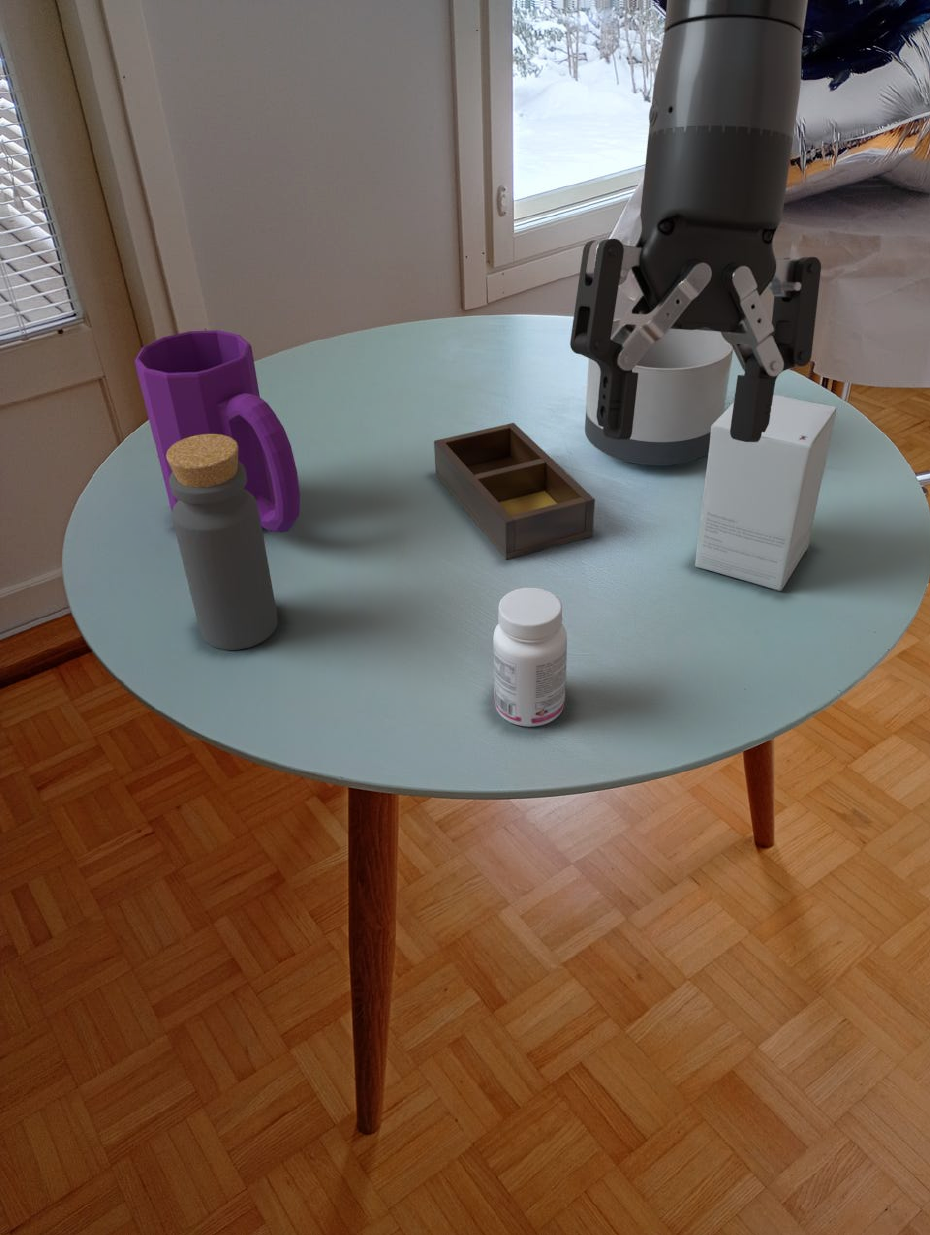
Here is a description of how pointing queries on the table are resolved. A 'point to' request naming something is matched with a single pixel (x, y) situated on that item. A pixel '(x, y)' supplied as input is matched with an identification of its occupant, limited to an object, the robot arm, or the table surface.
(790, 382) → the table surface
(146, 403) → the mug
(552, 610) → the pill bottle
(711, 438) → the white packaging box
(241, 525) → the bottle
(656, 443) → the planter
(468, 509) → the divided wooden box
